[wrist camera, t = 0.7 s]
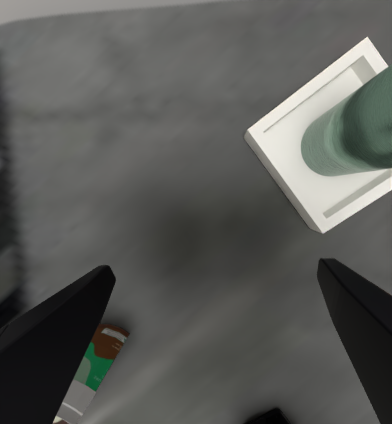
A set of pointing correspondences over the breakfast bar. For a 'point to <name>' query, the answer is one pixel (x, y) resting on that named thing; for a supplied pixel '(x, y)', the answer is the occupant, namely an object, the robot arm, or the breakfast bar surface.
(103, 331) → the food container
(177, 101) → the breakfast bar surface
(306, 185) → the tray
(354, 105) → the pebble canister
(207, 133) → the breakfast bar surface
